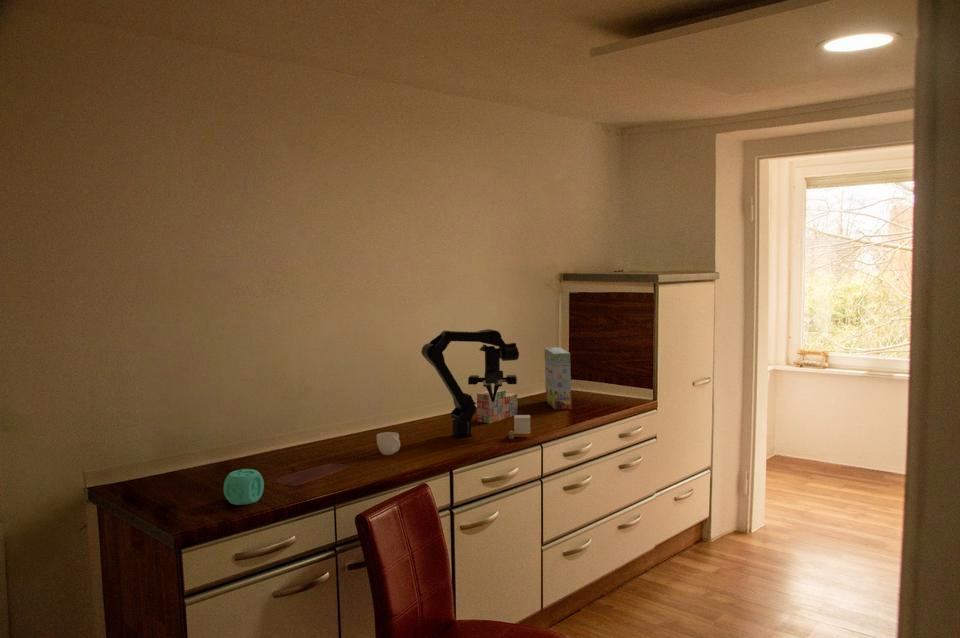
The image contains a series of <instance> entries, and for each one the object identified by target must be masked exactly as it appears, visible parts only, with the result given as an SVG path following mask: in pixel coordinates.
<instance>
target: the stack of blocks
mask: <svg viewBox="0 0 960 638" xmlns="http://www.w3.org/2000/svg"><path fill="white" fill-rule="evenodd" d="M492 393H494V388H492ZM518 404H519V402H518V394H517V393H512V392H511V393H510V392H506V389H498V390H497V393H496V397H495V400H494V402H492V401H491V398H490V395H489V392H488V390H485V391H481V392H476V415H477V416H476V417H477V418H476V419H477V420H476V421H477V423H483V424H484V423H485V424H492V423H495V422H499V421H501V420H505V419H507V418H512V417H514V415H519V414H518V413H519V412H518V411H519V409H518Z"/></svg>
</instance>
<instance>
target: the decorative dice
mask: <svg viewBox="0 0 960 638" xmlns="http://www.w3.org/2000/svg"><path fill="white" fill-rule="evenodd" d="M264 488H265V480H264V478H263V475H261V473H260V472H259V471H258V470H256V469H252V468H242V469H237V470H234V471H231V472H229V473H228V475H227V476H226V477H225V480H224V483H223V494H224V497H225V499H226V500H227V501H228V502H229V503H230V504H231V505H235V506H244V505H250V504H254V503H256V502H258V501H259V500H260V499H261V497H262V495H263V493H264Z"/></svg>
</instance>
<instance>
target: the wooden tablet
mask: <svg viewBox="0 0 960 638" xmlns="http://www.w3.org/2000/svg"><path fill="white" fill-rule="evenodd" d="M348 468H351V464H341V463H329V464H328V463H327V464H323V465H319V466H315V467H313V468H312V467H311V468H307V469H304V470H300V471H297V472H293V473H290V474H287V475H283V476H281V477H278V478H275V479H274V480H273V483H274V484H278V485H279V484H281V485H284V486H286V487H290V488H296V487H298V486H299V487H300V486H302V485H305V484H309V483H311V482H314V481H317V480H320V479H323V478H325V477H328V476H331V475H333V474H336V473H339V472H341V471H344V470H346V469H348Z"/></svg>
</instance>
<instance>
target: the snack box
mask: <svg viewBox="0 0 960 638" xmlns="http://www.w3.org/2000/svg"><path fill="white" fill-rule="evenodd" d="M543 350H544V372H545V373H544V375H545V377H544V378H545V379H544V380H545V382H544V383H545V384H544V385H545V402H547V403H548V405H550V406H551V407H552V408H553V410H557V411H559V410H560V411H561V410H572V376H571V375H572V373H571V372H572V371H571V368H572V367H571V366H572V365H571V361H572V360H571V352H569V351H568V350H566V349H564V348H562V347H559V346H558V347H557V346H556V347H544V349H543Z"/></svg>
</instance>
